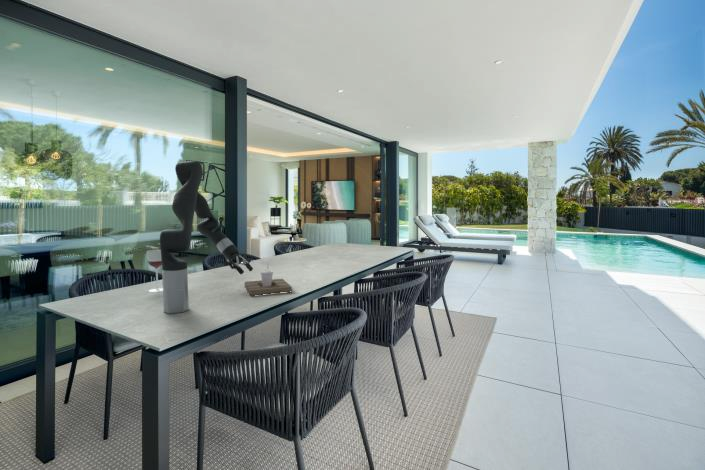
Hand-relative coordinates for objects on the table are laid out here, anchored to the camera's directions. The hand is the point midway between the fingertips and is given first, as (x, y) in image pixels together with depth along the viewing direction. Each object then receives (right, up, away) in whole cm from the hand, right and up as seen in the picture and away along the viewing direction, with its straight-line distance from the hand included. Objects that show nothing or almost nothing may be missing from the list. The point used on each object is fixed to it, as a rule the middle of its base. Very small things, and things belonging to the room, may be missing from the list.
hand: (247, 271), depth 184 cm
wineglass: (-44, -9, -5) cm, 45 cm away
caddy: (+11, -9, -2) cm, 14 cm away
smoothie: (+11, -9, -2) cm, 14 cm away
